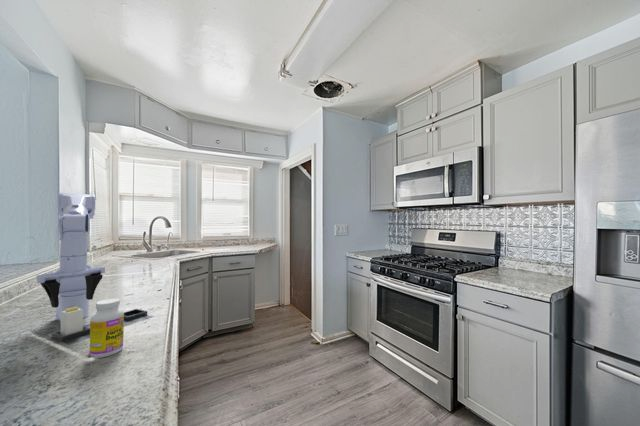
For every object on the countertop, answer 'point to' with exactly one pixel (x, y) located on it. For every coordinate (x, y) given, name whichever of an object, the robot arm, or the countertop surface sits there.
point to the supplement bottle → (106, 329)
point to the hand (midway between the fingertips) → (72, 302)
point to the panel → (129, 318)
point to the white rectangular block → (71, 321)
